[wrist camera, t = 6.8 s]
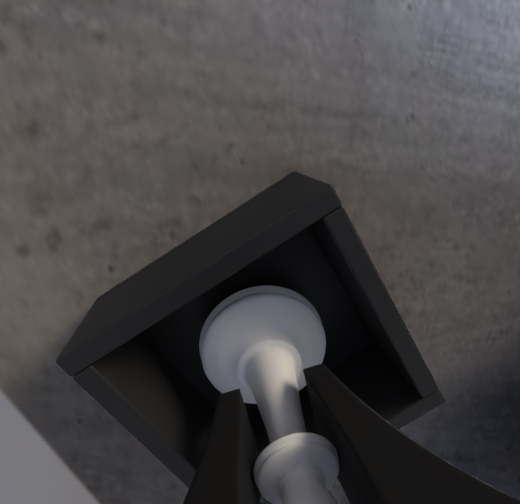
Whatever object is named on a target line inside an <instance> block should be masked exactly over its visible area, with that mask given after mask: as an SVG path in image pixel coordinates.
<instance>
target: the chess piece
mask: <svg viewBox="0 0 520 504" xmlns="http://www.w3.org/2000/svg"><path fill="white" fill-rule="evenodd" d="M325 350H326V337H325V331H324V328H323V325H322V322H321V319H320V316H319V314H318V312H317V311H316V309H315V308H314V306H313V305H312V304H311V303H310V302H309V301H308V300H307V299H306V298H305V297H303V296H302V295H300V294H299V293H297V292H295V291H293V290H290V289H287V288H284V287H279V286H271V285H264V286H255V287H250V288H246V289H243V290H241V291H238V292H236V293H234V294H232V295H230V296H229V297H227V298H226V299H224V300H223V301H222V302H220V303H219V304H218V305H217V306H216V307H215V308H214V309H213V311H212V312H211V313H210V314H209V316H208V318H207V319H206V321H205V323H204V325H203V328H202V331H201V334H200V340H199V351H200V356H201V360H202V365H203V369H204V371H205V374H206V376H207V377H208V379H209V381H210V382H211V383H212V385H213V386H214V387H215V388H216V389H217V390H219V391H220V392H221V393H226V392H229V391H233V390H236V389H239V388H240V391H241V394H242V398H243V401H244V403H251V404H257V406H258V409H259V411H260V414H261V417H262V420H263V423H264V425H265V428H266V431H267V435H268V438H269V441H270V444H269V445H268V446H267V447H266V448H265V449H264V450H263V451H262V452H261V453H260V455H259V456H258V458H257V460H256V462H255V465H254V471H253V476H254V481H255V483H256V485H257V487H258V489H259V491H260V493H261V495H262V496H263V497H264V498H265V499H266V500H267V501H269V502H270V503H272V504H338V502H337V501H336V500H335V498H334V497H333V496H332V495H331V494H330V492H329V490H330V489H331V488H332V487H333V485H334V484H335V482H336V480H337V478H338V474H339V459H338V454H337V450H336V448H335V447H334V445H333V444H332V443H331V442H330V441H329V440H328V439H326V438H325V437H323V436H321V435H318V434H314V433H307V431H306V426H305V422H304V418H303V412H302V407H301V402H300V397H299V391H300V390H301V389H302V388H304V387H305V386H306V381H305V376H304V372H303V369H305V368H309V367H312V366H315V365H318V364H322V362H323V359H324V355H325Z"/></svg>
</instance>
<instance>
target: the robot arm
mask: <svg viewBox="0 0 520 504" xmlns="http://www.w3.org/2000/svg"><path fill="white" fill-rule="evenodd" d="M303 372H304V376H305V381H306V385H307V389H308V393H309V397H310V402H311V406H312V410H313V414H314V419H315V422H316V425H317V428H318V430H319V433H320V435H321V436H323V437H325V438H326V439H328V440H329V441H330V442H331V443H332V444H333V445H334V447H335V448H336V450H337V454H338V459H339V474H338V479H339V481H340V483H341V485H342V487H343V489H344V491H345V494H346V496H347V498H348V500H349V502H350V504H520V500H518V499H516V498H514V497H512V496H510V495H508V494H506V493H504V492H502V491H500V490H498V489H496V488H494V487H492V486H491V485H489V484H487V483H485V482H483V481H481V480H479V479H478V478H476V477H474V476H472V475H470V474H468V473H467V472H465V471H463V470H461V469H459V468H457V467H456V466H454V465H452V464H451V463H449V462H447V461H446V460H444V459H442V458H441V457H439V456H438V455H436V454H434V453H433V452H431V451H430V450H428V449H427V448H425V447H423V446H422V445H420V444H419V443H417V442H416V441H414V440H413V439H411V438H410V437H409V436H407V435H406V434H404V433H403V432H402V431H400V430H399V429H397V428H396V427H395V426H393V425H392V424H391V423H389V422H388V421H387V420H385V419H384V418H383V417H382V416H380V415H379V414H378V413H376V412H375V411H374V410H373V409H372V408H370V407H369V406H368V405H367V404H366V403H364V402H363V401H362V400H361V399H360V398H359V397H357V396H356V395H355V394H354V393H353V392H352V391H351V390H350V389H349V388H347V387H346V386H345V385H344V384H343V383H342V382H341V381H340V380H339V379H338V378H337V377H336V376H335V375H334V374H333V373H332V372H331V371H330V370H329V369H328V367H327V366H326V365H324V364H318V365H315V366H312V367H309V368H305V369H303ZM258 456H259V453H258V448H257V443H256V438H255V435H254V432H253V429H252V426H251V422H250V419H249V416H248V413H247V410H246V407H245V404H244V401H243V398H242V394H241V391H240V388H239V389H236V390H233V391H229V392H226V393H223V394H220V395H219V397H218V398H217V403H216V408H215V412H214V416H213V420H212V424H211V427H210V431H209V434H208V437H207V440H206V444H205V447H204V450H203V453H202V456H201V459H200V462H199V465H198V467H197V470H196V472H195V475H194V478H193V480H192V483H191V486H190V488H189V491H188V493H187V496H186V498H185V500H184V503H183V504H266V501H265V498H264V497H263V496H262V495H261V493H260V491H259V489H258V487H257V485H256V483H255V481H254V476H253V471H254V465H255V462H256V460H257V458H258Z"/></svg>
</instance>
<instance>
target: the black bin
mask: <svg viewBox="0 0 520 504" xmlns="http://www.w3.org/2000/svg"><path fill="white" fill-rule="evenodd" d="M264 285H271V286H279V287H284V288H287V289H290V290H293V291H295V292H297V293H299V294H300V295H302V296H303V297H305V298H306V299H307V300H308V301H309V302H310V303H311V304H312V305H313V306H314V308H315V309H316V311H317V312H318V314H319V316H320V319H321V322H322V325H323V328H324V331H325V337H326V350H325V355H324V359H323V362H322V364H324V365H326V366H327V367H328V369H329V370H330V371H331V372H332V373H333V374H334V375H335V376H336V377H337V378H338V379H339V380H340V381H341V382H342V383H343V384H344V385H345V386H346V387H347V388H349V389H350V390H351V391H352V392H353V393H354V394H355V395H356V396H357V397H359V398H360V399H361V400H362V401H363V402H364V403H366V404H367V405H368V406H369V407H370V408H372V409H373V410H374V411H375V412H376V413H378V414H379V415H380V416H382V417H383V418H384V419H385V420H387V421H388V422H389V423H391V424H392V425H393V426H395V427H396V428H397V429H400V428H402V427H403V426H405V425H407V424H408V423H410V422H412V421H413V420H415V419H417V418H419V417H420V416H422V415H424V414H425V413H427V412H429V411H430V410H432V409H434V408H435V407H437V406H439V405H440V404H442V403H444V402H445V400H444V398H443V396H442V394H441V392H440V390H439V389H438V387H437V385H436V383H435V381H434V379H433V377H432V375H431V373H430V371H429V369H428V368H427V366H426V364H425V362H424V360H423V358H422V356H421V354H420V352H419V350H418V348H417V347H416V345H415V343H414V341H413V339H412V337H411V335H410V333H409V331H408V329H407V327H406V326H405V324H404V322H403V320H402V318H401V316H400V314H399V312H398V310H397V308H396V307H395V305H394V303H393V301H392V299H391V297H390V295H389V293H388V291H387V289H386V287H385V286H384V284H383V282H382V280H381V278H380V276H379V274H378V272H377V270H376V268H375V266H374V265H373V263H372V261H371V259H370V257H369V255H368V253H367V251H366V249H365V247H364V245H363V244H362V242H361V240H360V238H359V236H358V234H357V232H356V230H355V228H354V226H353V225H352V223H351V221H350V219H349V217H348V215H347V213H346V211H345V209H344V207H342V206H341V201H340V199H339V198H338V196H337V194H336V192H335V190H334V188H333V186H332V185H329V184H327V183H324V182H322V181H319V180H316V179H314V178H311V177H308V176H306V175H303V174H300V173H298V172H295V171H294V172H292V173H291V174H289V175H287V176H286V177H284V178H283V179H281V180H280V181H278V182H277V183H275V184H273V185H272V186H270V187H269V188H267V189H266V190H264V191H263V192H261V193H259V194H258V195H256V196H255V197H253V198H252V199H250V200H249V201H247V202H245V203H244V204H242V205H241V206H239V207H238V208H236V209H235V210H233V211H232V212H230V213H228V214H227V215H225V216H224V217H222V218H221V219H219V220H218V221H216V222H214V223H213V224H211V225H210V226H208V227H207V228H205V229H204V230H202V231H200V232H199V233H197V234H196V235H194V236H193V237H191V238H190V239H188V240H186V241H185V242H183V243H182V244H180V245H179V246H177V247H176V248H174V249H173V250H171V251H169V252H168V253H166V254H165V255H163V256H162V257H160V258H159V259H157V260H155V261H154V262H152V263H151V264H149V265H148V266H146V267H145V268H143V269H141V270H140V271H138V272H137V273H135V274H134V275H132V276H131V277H129V278H127V279H126V280H124V281H123V282H121V283H120V284H118V285H117V286H115V287H114V288H112V289H110V290H109V291H107V292H106V293H104V294H103V295H101V296H100V297H98V298H97V300H96V301H95V303H94V305H93V306H92V308H91V309H90V311H89V312H88V314H87V315H86V317H85V318H84V320H83V321H82V323H81V324H80V326H79V327H78V329H77V330H76V332H75V333H74V335H73V336H72V338H71V339H70V341H69V342H68V344H67V345H66V347H65V348H64V350H63V351H62V352H61V354H60V355H59V357H58V358H57V360H56V363H57V364H58V365H59V366H60V367H61V368H62V369H63V370H64V371H65V372H67V373H68V374H69V375H70V376H73V378H74V380H75V381H76V382H77V383H78V384H80V385H81V386H82V387H83V388H84V389H85V390H86V391H87V392H88V393H89V394H90V395H91V396H92V397H93V398H94V399H95V400H96V401H98V402H99V403H100V404H101V405H102V406H103V407H104V408H105V409H106V410H107V411H108V412H109V413H110V414H111V415H112V416H113V417H114V418H115V419H117V420H118V421H119V422H120V423H121V424H122V425H123V426H124V427H125V428H126V429H127V430H128V431H129V432H130V433H131V434H132V435H133V436H135V437H136V438H137V439H138V440H139V441H140V442H141V443H142V444H143V445H144V446H145V447H146V448H147V449H148V450H149V451H150V452H151V453H152V454H154V455H155V456H156V457H157V458H158V459H159V460H160V461H161V462H162V463H163V464H164V465H165V466H166V467H167V468H168V469H169V470H170V471H172V472H173V473H174V474H175V475H176V476H177V477H178V478H179V479H180V480H181V481H182V482H183V483H184V484H185V485H186V486H187V487H188V488H190V486H191V483H192V480H193V478H194V475H195V472H196V470H197V467H198V465H199V462H200V459H201V456H202V453H203V450H204V447H205V444H206V440H207V437H208V434H209V431H210V427H211V424H212V420H213V416H214V412H215V408H216V403H217V398H218V397H219V395H220V394H223V393H221V392H220V391H219V390H217V389H216V388H215V387H214V386H213V385H212V383H211V382H210V381H209V379H208V377H207V376H206V374H205V371H204V369H203V365H202V360H201V356H200V351H199V340H200V334H201V331H202V328H203V325H204V323H205V321H206V319H207V318H208V316H209V314H210V313H211V312H212V311H213V309H214V308H215V307H216V306H217V305H218V304H219V303H220V302H222V301H223V300H224V299H226V298H227V297H229V296H230V295H232V294H234V293H236V292H238V291H241V290H243V289H246V288H250V287H255V286H264ZM299 397H300V402H301V407H302V412H303V418H304V422H305V426H306V431H307V433H314V434H318V435H320V433H319V430H318V428H317V425H316V422H315V419H314V414H313V410H312V406H311V402H310V397H309V393H308V389H307V385H306V386H305V387H304V388H302V389H301V390H300V391H299ZM244 404H245V407H246V410H247V413H248V416H249V419H250V422H251V426H252V429H253V432H254V435H255V438H256V443H257V448H258V453H259V455H260V453H261V452H262V451H263V450H264V449H265V448H266V447H267V446H268V445H269V444H270V441H269V438H268V435H267V431H266V428H265V425H264V423H263V420H262V417H261V414H260V411H259V409H258V406H257V404H251V403H244ZM265 501H266V504H272V503H270V502H269V501H267V500H266V499H265Z"/></svg>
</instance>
